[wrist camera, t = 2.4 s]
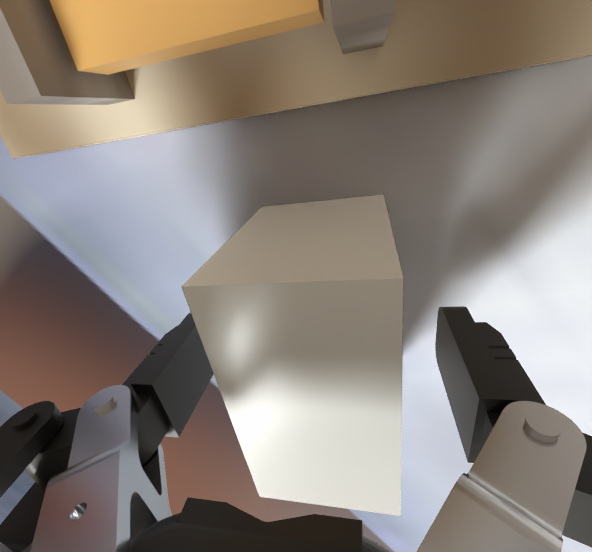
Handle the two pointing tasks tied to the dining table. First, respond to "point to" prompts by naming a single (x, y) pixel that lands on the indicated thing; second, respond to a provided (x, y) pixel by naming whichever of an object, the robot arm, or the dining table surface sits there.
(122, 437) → the robot arm
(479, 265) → the dining table surface
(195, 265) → the dining table surface
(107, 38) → the plate
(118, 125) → the mounting board
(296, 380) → the block
